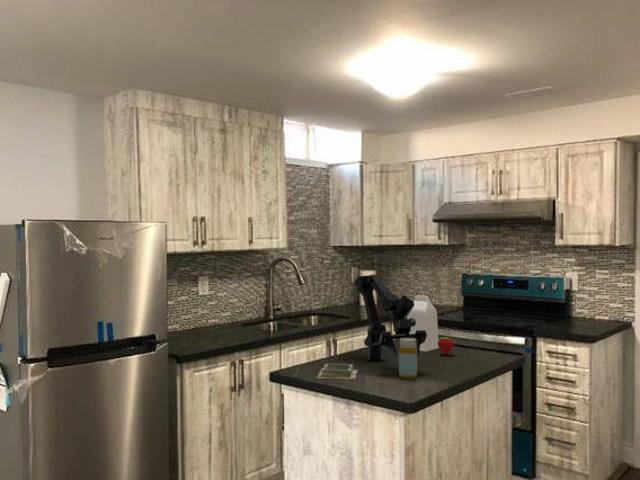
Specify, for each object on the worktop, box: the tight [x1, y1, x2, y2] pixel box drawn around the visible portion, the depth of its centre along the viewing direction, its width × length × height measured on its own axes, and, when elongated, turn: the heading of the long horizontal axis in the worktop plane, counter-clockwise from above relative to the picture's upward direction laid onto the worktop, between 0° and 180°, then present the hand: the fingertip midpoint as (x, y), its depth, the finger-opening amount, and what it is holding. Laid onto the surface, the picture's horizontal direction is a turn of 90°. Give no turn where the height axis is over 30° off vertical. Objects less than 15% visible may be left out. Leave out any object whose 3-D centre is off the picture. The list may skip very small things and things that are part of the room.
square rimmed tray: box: [316, 363, 359, 381], centre depth 230 cm, size 15×15×3 cm
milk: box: [406, 294, 440, 353], centre depth 282 cm, size 12×12×26 cm
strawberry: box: [437, 336, 454, 356], centre depth 265 cm, size 6×8×10 cm
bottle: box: [398, 338, 418, 380], centre depth 226 cm, size 7×7×15 cm
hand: (407, 354), depth 227 cm, fingers open, 9 cm apart
